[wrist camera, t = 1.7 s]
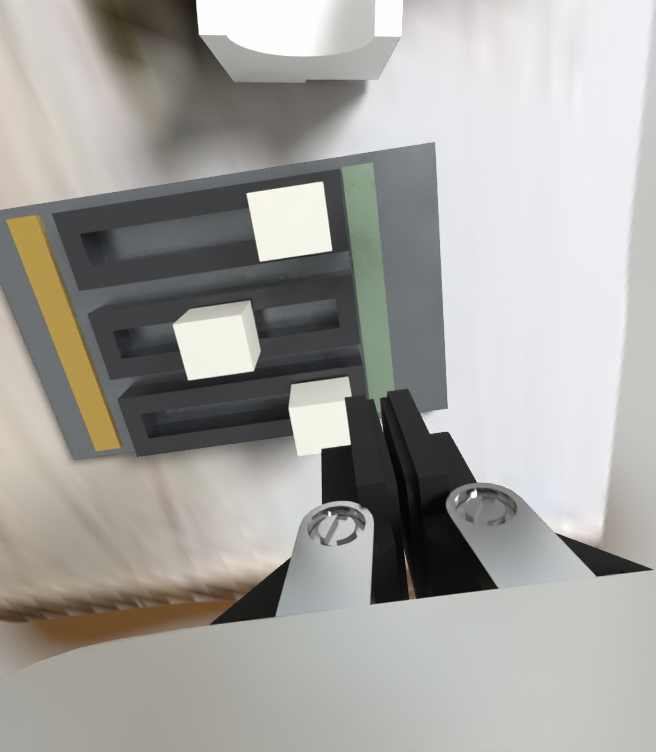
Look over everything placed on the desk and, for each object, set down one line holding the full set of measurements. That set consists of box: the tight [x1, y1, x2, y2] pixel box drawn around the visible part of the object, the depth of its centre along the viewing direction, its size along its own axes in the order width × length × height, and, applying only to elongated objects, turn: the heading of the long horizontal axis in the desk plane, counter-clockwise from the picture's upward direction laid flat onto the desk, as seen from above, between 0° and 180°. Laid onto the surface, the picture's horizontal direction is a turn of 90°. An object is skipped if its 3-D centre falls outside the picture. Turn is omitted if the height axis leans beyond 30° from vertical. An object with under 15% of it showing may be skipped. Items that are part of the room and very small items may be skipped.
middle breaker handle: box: [173, 300, 261, 380], centre depth 23 cm, size 3×3×5 cm
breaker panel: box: [0, 142, 448, 460], centre depth 26 cm, size 15×24×3 cm, turn 98°
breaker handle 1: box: [247, 182, 332, 262], centre depth 21 cm, size 3×3×5 cm
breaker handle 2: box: [289, 377, 352, 456], centre depth 25 cm, size 3×3×5 cm
